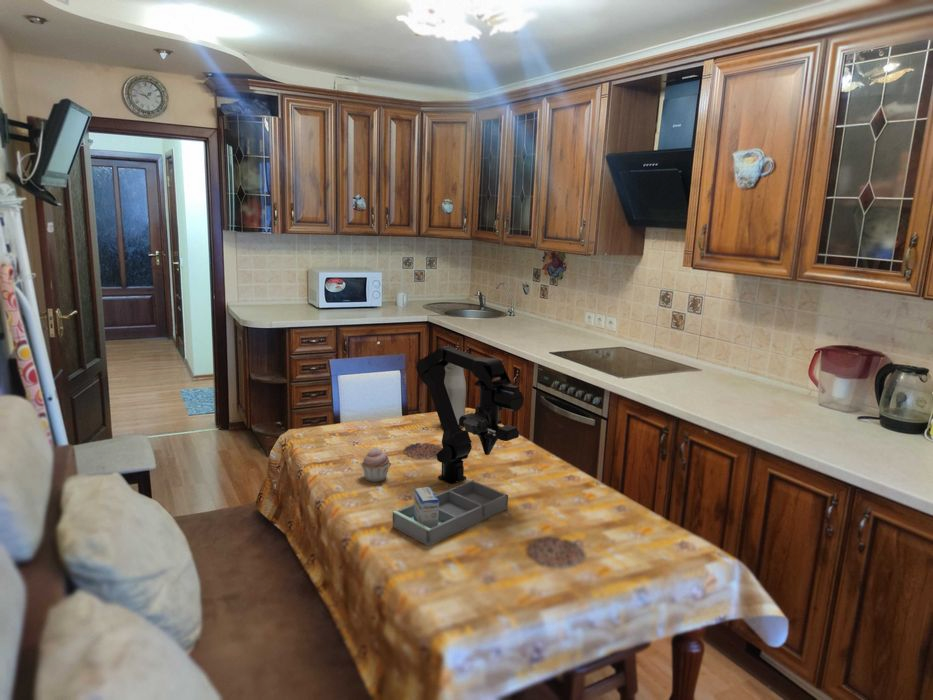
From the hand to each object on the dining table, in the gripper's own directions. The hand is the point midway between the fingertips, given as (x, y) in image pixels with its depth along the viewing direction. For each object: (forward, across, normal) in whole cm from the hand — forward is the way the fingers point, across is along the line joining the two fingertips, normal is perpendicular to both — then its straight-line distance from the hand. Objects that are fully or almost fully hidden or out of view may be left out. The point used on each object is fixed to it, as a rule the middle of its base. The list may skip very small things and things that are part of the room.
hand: (487, 454), depth 183 cm
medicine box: (+11, +4, -28) cm, 30 cm away
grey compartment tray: (+12, +4, -18) cm, 22 cm away
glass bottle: (+12, -49, +35) cm, 62 cm away
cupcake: (+12, -30, -17) cm, 37 cm away
